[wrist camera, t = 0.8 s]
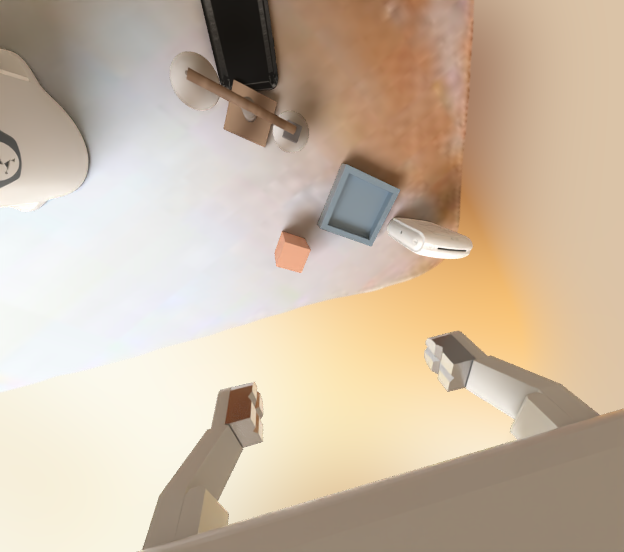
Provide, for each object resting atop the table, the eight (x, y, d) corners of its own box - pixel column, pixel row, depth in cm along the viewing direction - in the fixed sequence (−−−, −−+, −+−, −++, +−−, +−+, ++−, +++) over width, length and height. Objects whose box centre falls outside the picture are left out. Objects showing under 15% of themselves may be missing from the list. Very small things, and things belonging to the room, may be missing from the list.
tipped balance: (184, 111, 32) (152, 94, 22) (192, 59, 30) (160, 15, 20) (296, 161, 38) (309, 164, 28) (310, 120, 35) (328, 108, 26)
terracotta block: (274, 252, 44) (276, 266, 39) (282, 231, 42) (285, 241, 37) (296, 259, 46) (301, 272, 40) (304, 238, 44) (310, 249, 39)
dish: (317, 224, 43) (320, 228, 41) (341, 163, 39) (346, 164, 37) (366, 242, 47) (371, 246, 45) (393, 187, 43) (400, 189, 40)
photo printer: (383, 236, 47) (419, 260, 36) (389, 215, 45) (430, 234, 34) (426, 240, 49) (472, 265, 39) (434, 220, 48) (484, 240, 37)
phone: (222, 92, 31) (179, -89, 24) (223, 94, 32) (182, -80, 25) (280, 87, 32) (256, -89, 25) (279, 89, 33) (256, -80, 26)
